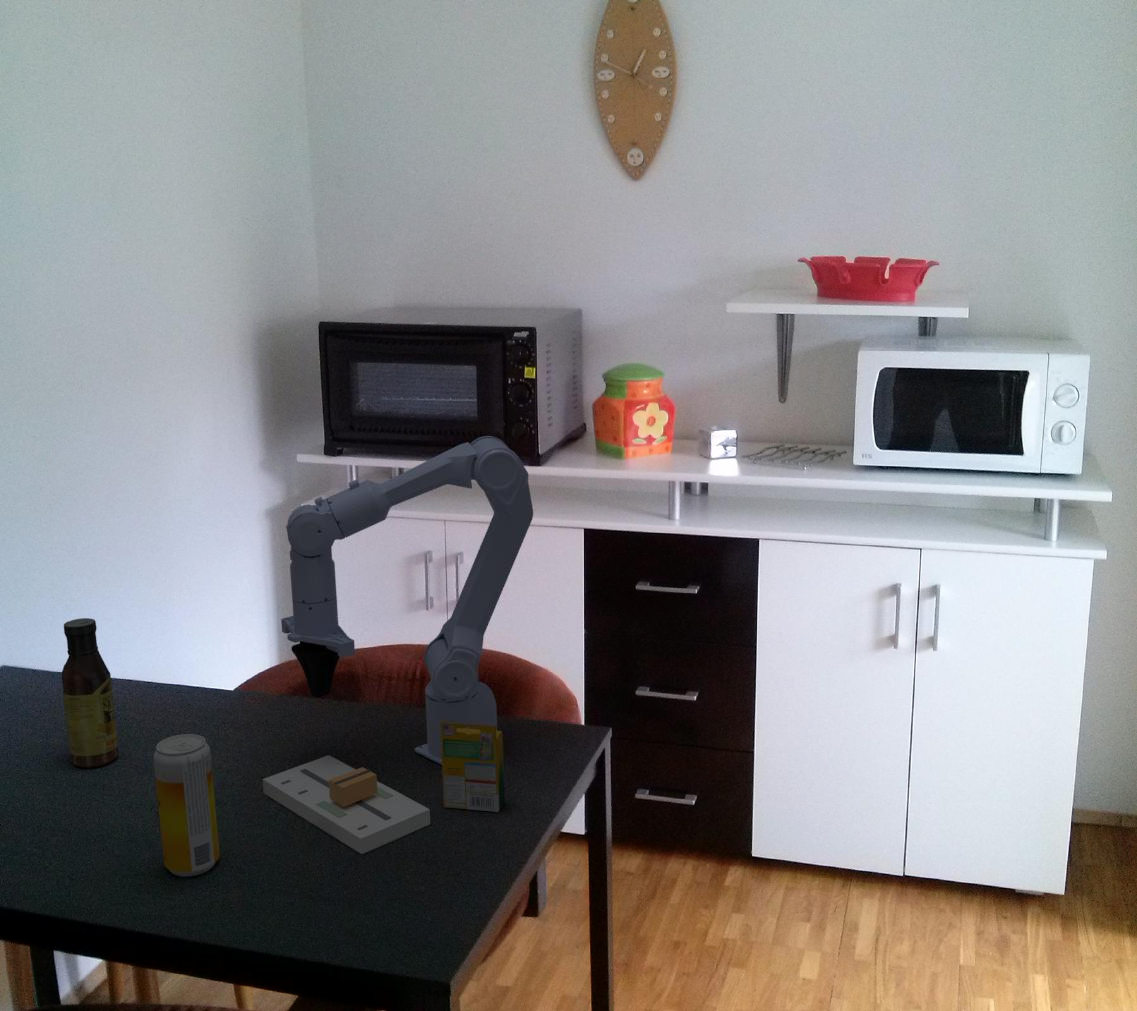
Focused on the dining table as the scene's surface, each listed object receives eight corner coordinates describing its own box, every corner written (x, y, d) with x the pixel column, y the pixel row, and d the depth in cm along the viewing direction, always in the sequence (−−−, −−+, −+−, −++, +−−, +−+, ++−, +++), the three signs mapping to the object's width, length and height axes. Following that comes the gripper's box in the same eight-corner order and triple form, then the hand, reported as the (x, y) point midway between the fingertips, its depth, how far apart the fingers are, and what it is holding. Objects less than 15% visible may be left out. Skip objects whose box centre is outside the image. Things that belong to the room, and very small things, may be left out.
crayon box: (505, 802, 150) (503, 716, 148) (499, 813, 147) (496, 726, 145) (450, 797, 152) (446, 712, 149) (443, 808, 149) (439, 721, 146)
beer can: (200, 846, 141) (189, 728, 137) (230, 862, 137) (220, 741, 133) (154, 867, 136) (141, 745, 133) (184, 885, 132) (172, 760, 129)
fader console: (329, 768, 160) (328, 754, 160) (430, 824, 145) (429, 808, 144) (263, 793, 154) (262, 778, 153) (361, 854, 138) (360, 837, 138)
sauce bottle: (120, 765, 162) (105, 626, 158) (70, 773, 160) (54, 633, 156) (118, 746, 168) (104, 612, 164) (71, 754, 166) (55, 618, 162)
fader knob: (364, 785, 150) (362, 766, 149) (377, 793, 148) (376, 773, 147) (329, 798, 146) (328, 779, 146) (343, 807, 144) (342, 787, 144)
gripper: (258, 592, 158) (266, 688, 161) (318, 616, 148) (325, 718, 151) (304, 581, 163) (310, 674, 166) (365, 603, 153) (371, 702, 156)
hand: (320, 694), depth 159 cm, fingers closed
